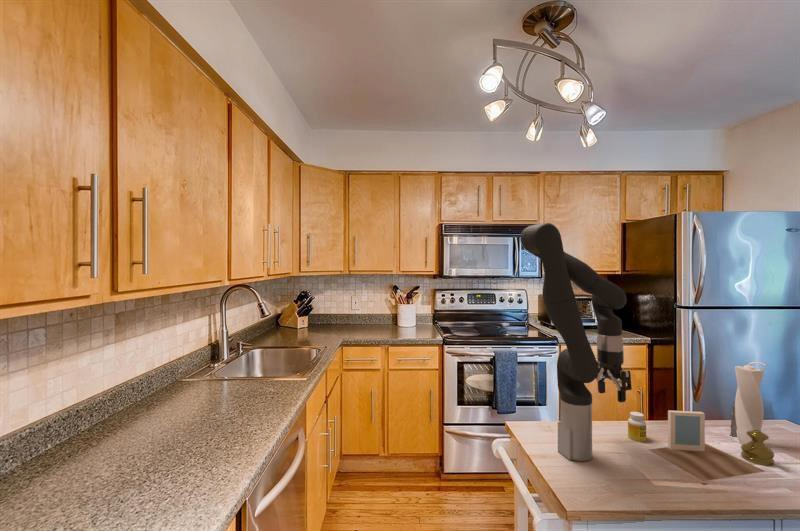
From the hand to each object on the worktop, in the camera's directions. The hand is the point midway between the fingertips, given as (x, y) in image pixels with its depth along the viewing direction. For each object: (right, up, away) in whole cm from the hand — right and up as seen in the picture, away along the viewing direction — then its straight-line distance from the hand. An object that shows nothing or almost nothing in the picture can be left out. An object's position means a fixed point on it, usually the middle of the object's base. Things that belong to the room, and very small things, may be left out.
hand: (611, 397), depth 125 cm
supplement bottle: (+12, -17, +6) cm, 22 cm away
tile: (+23, -16, -2) cm, 28 cm away
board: (+23, -17, -9) cm, 30 cm away
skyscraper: (+49, -18, +5) cm, 52 cm away
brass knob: (+40, -17, -9) cm, 44 cm away
